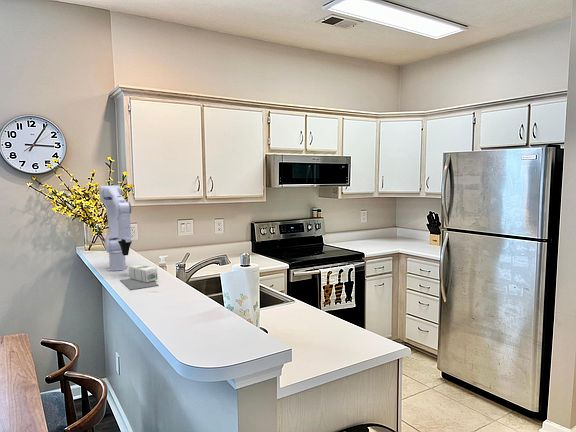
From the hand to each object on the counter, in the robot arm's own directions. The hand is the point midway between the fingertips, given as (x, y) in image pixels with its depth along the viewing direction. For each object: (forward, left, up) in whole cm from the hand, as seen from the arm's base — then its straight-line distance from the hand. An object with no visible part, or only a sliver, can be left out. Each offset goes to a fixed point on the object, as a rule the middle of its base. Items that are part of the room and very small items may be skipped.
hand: (125, 255), depth 201 cm
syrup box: (+6, +5, -7) cm, 10 cm away
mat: (+17, +9, -10) cm, 22 cm away
